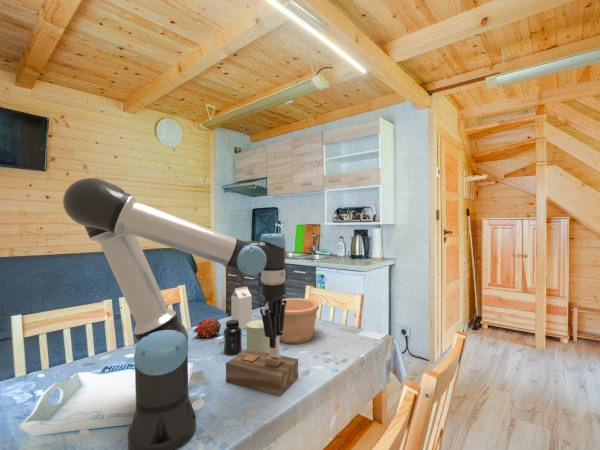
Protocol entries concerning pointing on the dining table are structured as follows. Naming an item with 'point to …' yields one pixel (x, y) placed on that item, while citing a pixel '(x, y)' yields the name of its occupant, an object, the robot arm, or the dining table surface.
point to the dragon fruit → (208, 328)
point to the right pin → (274, 361)
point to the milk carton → (241, 306)
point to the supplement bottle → (232, 338)
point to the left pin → (250, 358)
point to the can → (257, 337)
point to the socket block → (262, 373)
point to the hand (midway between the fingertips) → (274, 356)
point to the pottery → (298, 321)
